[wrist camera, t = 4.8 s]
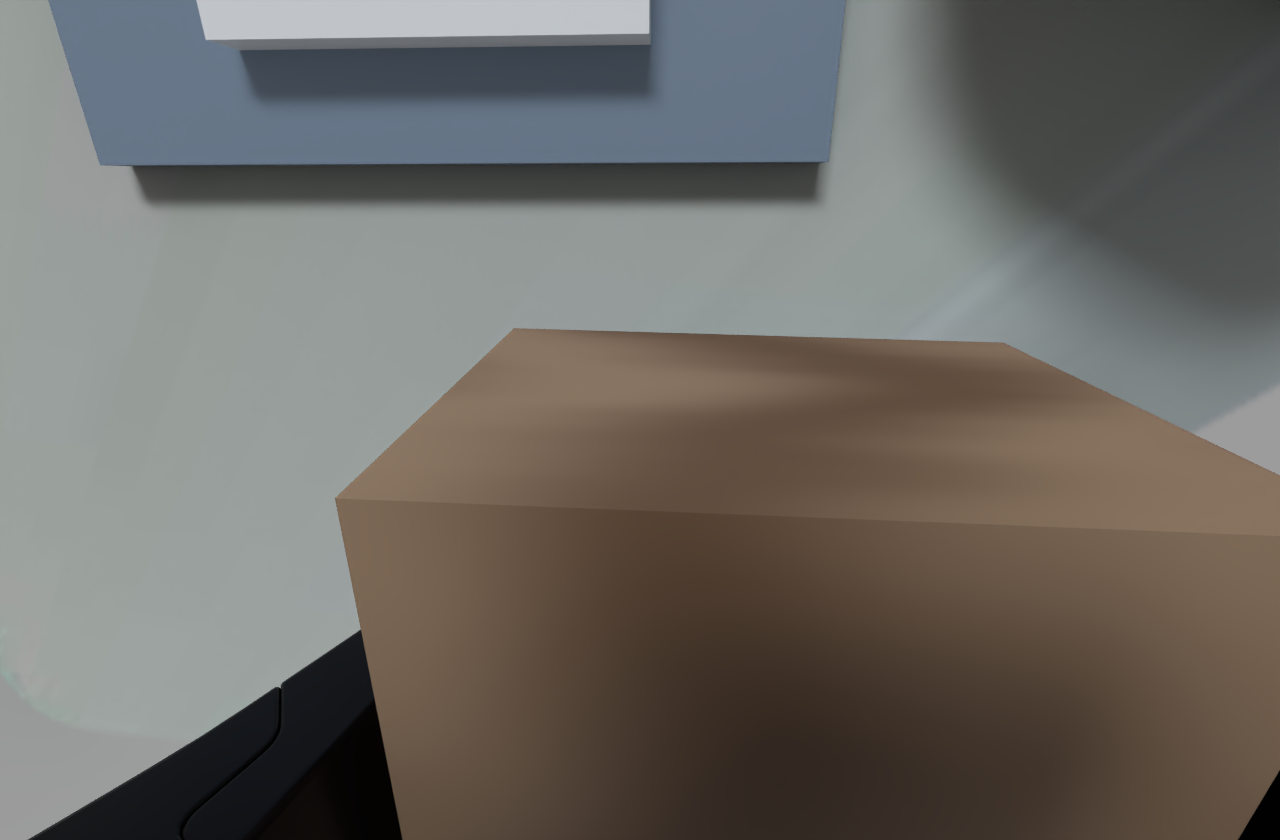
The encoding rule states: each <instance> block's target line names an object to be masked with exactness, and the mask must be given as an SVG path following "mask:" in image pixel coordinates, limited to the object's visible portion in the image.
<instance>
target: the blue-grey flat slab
mask: <svg viewBox="0 0 1280 840" xmlns="http://www.w3.org/2000/svg"><path fill="white" fill-rule="evenodd" d="M48 1H49V4H50V7H51V11H52V14H53V17H54V20H55V23H56V26H57V30H58V33H59V36H60V39H61V42H62V45H63V49H64V52H65V55H66V58H67V61H68V64H69V68H70V71H71V74H72V77H73V80H74V83H75V87H76V90H77V93H78V96H79V99H80V103H81V106H82V109H83V112H84V115H85V118H86V122H87V125H88V128H89V131H90V134H91V137H92V141H93V144H94V147H95V150H96V153H97V156H98V160H99V163H100V165H111V166H249V165H453V164H657V163H821V162H828V161H829V152H830V142H831V133H832V123H833V114H834V105H835V95H836V86H837V76H838V67H839V57H840V48H841V38H842V29H843V19H844V10H845V1H846V0H48Z"/></svg>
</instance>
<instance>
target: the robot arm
mask: <svg viewBox="0 0 1280 840" xmlns="http://www.w3.org/2000/svg"><path fill="white" fill-rule="evenodd" d="M28 840H403V839H402V834H401V829H400V824H399V819H398V814H397V809H396V804H395V799H394V794H393V789H392V784H391V779H390V774H389V769H388V764H387V759H386V754H385V748H384V743H383V738H382V733H381V728H380V723H379V718H378V713H377V708H376V703H375V698H374V693H373V688H372V683H371V678H370V673H369V668H368V662H367V657H366V652H365V647H364V642H363V637H362V632H361V630H359V631H358V632H356V633H355V634H354V635H352V636H351V637H349V638H348V639H346V640H345V641H343V642H342V643H340V644H339V645H337V646H336V647H334V648H333V649H331V650H330V651H328V652H327V653H325V654H324V655H323V656H321V657H320V658H318V659H317V660H315V661H314V662H312V663H311V664H309V665H308V666H306V667H305V668H303V669H302V670H300V671H299V672H297V673H296V674H294V675H293V676H291V677H290V678H288V679H287V680H286V681H284V682H283V683H282V684H281V689H280V688H279V687H275V688H273V689H272V690H271V691H269V692H268V693H266V694H265V695H263V696H262V697H260V698H259V699H257V700H256V701H254V702H253V703H251V704H250V705H248V706H247V707H245V708H244V709H242V710H241V711H239V712H238V713H236V714H235V715H233V716H232V717H230V718H228V719H227V720H225V721H224V722H222V723H221V724H219V725H218V726H216V727H215V728H213V729H212V730H210V731H209V732H207V733H205V734H204V735H202V736H201V737H199V738H198V739H196V740H194V741H193V742H191V743H189V744H188V745H186V746H184V747H183V748H181V749H180V750H178V751H176V752H175V753H173V754H171V755H170V756H168V757H166V758H165V759H163V760H162V761H160V762H158V763H157V764H155V765H153V766H152V767H150V768H149V769H147V770H145V771H143V772H142V773H140V774H138V775H137V776H135V777H133V778H131V779H130V780H128V781H126V782H125V783H123V784H121V785H120V786H118V787H116V788H115V789H113V790H111V791H110V792H108V793H106V794H105V795H103V796H101V797H99V798H98V799H96V800H94V801H93V802H91V803H89V804H88V805H86V806H84V807H82V808H81V809H79V810H78V811H76V812H74V813H72V814H71V815H69V816H67V817H66V818H64V819H62V820H61V821H59V822H57V823H55V824H54V825H52V826H50V827H49V828H47V829H46V830H44V831H42V832H40V833H39V834H37V835H35V836H34V837H32V838H30V839H28ZM1238 840H1280V770H1279V772H1278V774H1277V775H1276V777H1275V779H1274V780H1273V782H1272V784H1271V785H1270V787H1269V789H1268V790H1267V792H1266V794H1265V795H1264V797H1263V799H1262V800H1261V802H1260V804H1259V805H1258V807H1257V809H1256V810H1255V812H1254V814H1253V815H1252V817H1251V819H1250V820H1249V822H1248V824H1247V825H1246V827H1245V829H1244V830H1243V832H1242V834H1241V835H1240V837H1239V839H1238Z"/></svg>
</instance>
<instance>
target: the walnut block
mask: <svg viewBox="0 0 1280 840" xmlns="http://www.w3.org/2000/svg"><path fill="white" fill-rule="evenodd" d="M335 501H336V506H337V511H338V516H339V521H340V526H341V531H342V536H343V541H344V546H345V551H346V556H347V561H348V566H349V571H350V576H351V582H352V587H353V592H354V597H355V602H356V607H357V612H358V617H359V622H360V627H361V632H362V637H363V642H364V647H365V652H366V657H367V662H368V668H369V673H370V678H371V683H372V688H373V693H374V698H375V703H376V708H377V713H378V718H379V723H380V728H381V733H382V738H383V743H384V748H385V754H386V759H387V764H388V769H389V774H390V779H391V784H392V789H393V794H394V799H395V804H396V809H397V814H398V819H399V824H400V829H401V834H402V839H403V840H1238V839H1239V837H1240V835H1241V834H1242V832H1243V830H1244V829H1245V827H1246V825H1247V824H1248V822H1249V820H1250V819H1251V817H1252V815H1253V814H1254V812H1255V810H1256V809H1257V807H1258V805H1259V804H1260V802H1261V800H1262V799H1263V797H1264V795H1265V794H1266V792H1267V790H1268V789H1269V787H1270V785H1271V784H1272V782H1273V780H1274V779H1275V777H1276V775H1277V774H1278V772H1279V770H1280V475H1278V474H1275V473H1273V472H1271V471H1269V470H1267V469H1265V468H1263V467H1261V466H1259V465H1257V464H1255V463H1253V462H1250V461H1248V460H1246V459H1244V458H1242V457H1240V456H1238V455H1236V454H1234V453H1232V452H1230V451H1228V450H1225V449H1223V448H1221V447H1219V446H1217V445H1215V444H1213V443H1211V442H1209V441H1207V440H1205V439H1203V438H1200V437H1198V436H1196V435H1194V434H1192V433H1190V432H1188V431H1186V430H1184V429H1182V428H1180V427H1178V426H1176V425H1173V424H1171V423H1169V422H1167V421H1165V420H1163V419H1161V418H1159V417H1157V416H1155V415H1153V414H1151V413H1148V412H1146V411H1144V410H1142V409H1140V408H1138V407H1136V406H1134V405H1132V404H1130V403H1128V402H1126V401H1124V400H1121V399H1119V398H1117V397H1115V396H1113V395H1111V394H1109V393H1107V392H1105V391H1103V390H1101V389H1099V388H1096V387H1094V386H1092V385H1090V384H1088V383H1086V382H1084V381H1082V380H1080V379H1078V378H1076V377H1074V376H1071V375H1069V374H1067V373H1065V372H1063V371H1061V370H1059V369H1057V368H1055V367H1053V366H1051V365H1049V364H1047V363H1044V362H1042V361H1040V360H1038V359H1036V358H1034V357H1032V356H1030V355H1028V354H1026V353H1024V352H1022V351H1019V350H1017V349H1015V348H1013V347H1011V346H1009V345H1007V344H1005V343H991V342H958V341H924V340H890V339H856V338H822V337H788V336H754V335H720V334H687V333H653V332H619V331H585V330H551V329H517V328H514V329H513V330H512V331H511V332H510V333H509V334H508V335H507V336H506V337H505V338H503V339H502V340H501V341H500V342H499V343H498V344H497V345H496V346H495V347H494V348H493V349H492V350H491V351H490V352H489V353H488V354H487V355H486V356H485V357H483V358H482V359H481V360H480V361H479V362H478V363H477V364H476V365H475V366H474V367H473V368H472V369H471V370H470V371H469V372H468V373H467V374H466V375H464V376H463V377H462V378H461V379H460V380H459V381H458V382H457V383H456V384H455V385H454V386H453V387H452V388H451V389H450V390H449V391H448V392H447V393H446V394H444V395H443V396H442V397H441V398H440V399H439V400H438V401H437V402H436V403H435V404H434V405H433V406H432V407H431V408H430V409H429V410H428V411H427V412H426V413H424V414H423V415H422V416H421V417H420V418H419V419H418V420H417V421H416V422H415V423H414V424H413V425H412V426H411V427H410V428H409V429H408V430H407V431H406V432H404V433H403V434H402V435H401V436H400V437H399V438H398V439H397V440H396V441H395V442H394V443H393V444H392V445H391V446H390V447H389V448H388V449H387V450H386V451H384V452H383V453H382V454H381V455H380V456H379V457H378V458H377V459H376V460H375V461H374V462H373V463H372V464H371V465H370V466H369V467H368V468H367V469H366V470H364V471H363V472H362V473H361V474H360V475H359V476H358V477H357V478H356V479H355V480H354V481H353V482H352V483H351V484H350V485H349V486H348V487H347V488H346V489H344V490H343V491H342V492H341V493H340V494H339V495H338V496H337V497H336V498H335Z"/></svg>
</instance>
